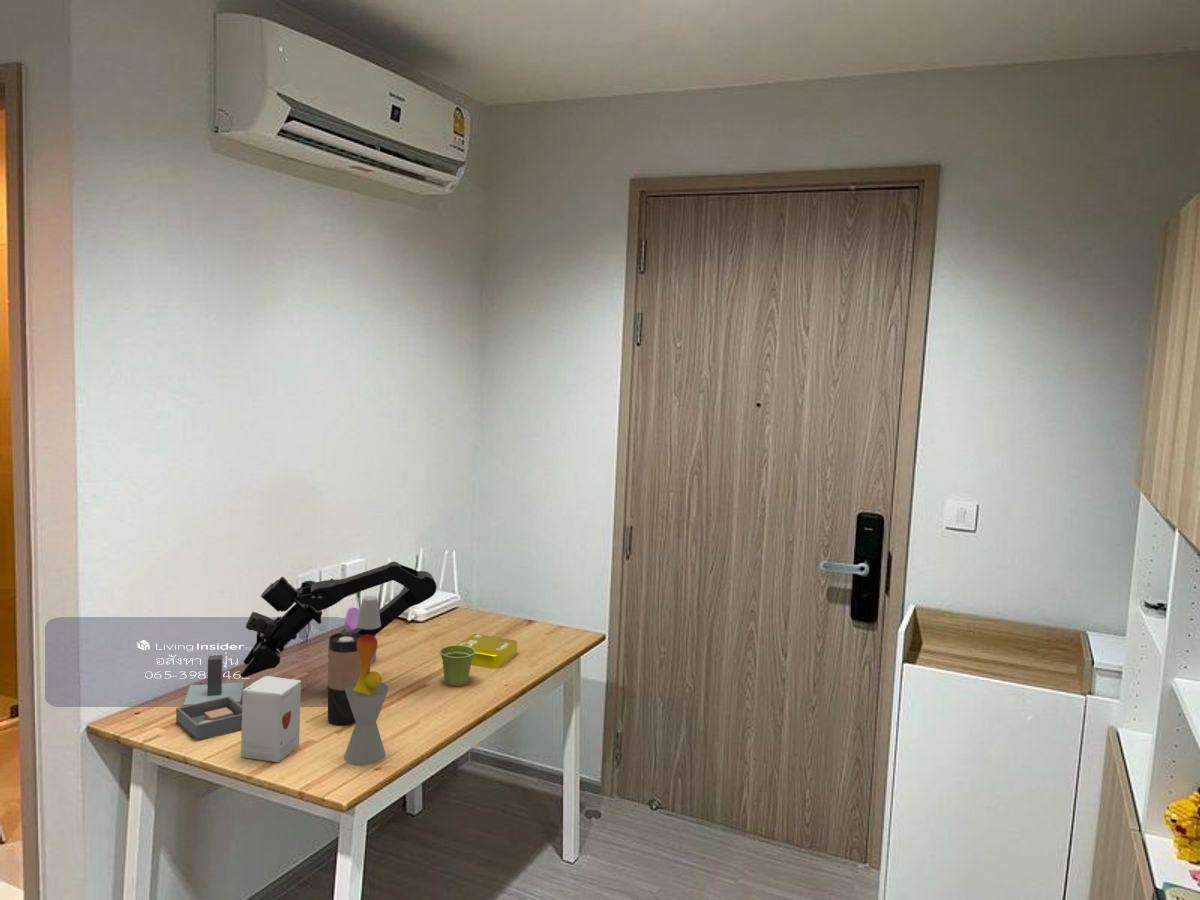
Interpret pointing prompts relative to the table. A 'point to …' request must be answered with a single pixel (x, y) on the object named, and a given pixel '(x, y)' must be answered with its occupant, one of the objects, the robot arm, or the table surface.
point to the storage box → (210, 718)
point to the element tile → (490, 650)
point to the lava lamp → (366, 693)
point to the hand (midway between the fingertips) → (243, 669)
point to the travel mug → (342, 676)
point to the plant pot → (457, 664)
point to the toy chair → (354, 623)
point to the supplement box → (270, 718)
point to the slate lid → (214, 685)
